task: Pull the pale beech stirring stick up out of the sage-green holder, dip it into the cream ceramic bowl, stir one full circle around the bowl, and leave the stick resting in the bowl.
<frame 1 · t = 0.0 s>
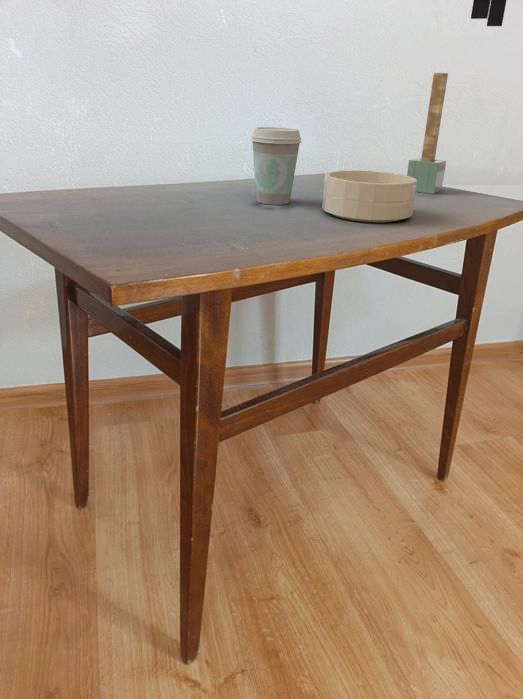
hand: (486, 22, 109), 31 cm above the table, tool pointing down, fingers open, 13 cm apart
bowl: (366, 214, 97), on the table
holder: (423, 190, 122), on the table
stick: (431, 134, 117), in the holder
coffee cup: (273, 202, 104), on the table
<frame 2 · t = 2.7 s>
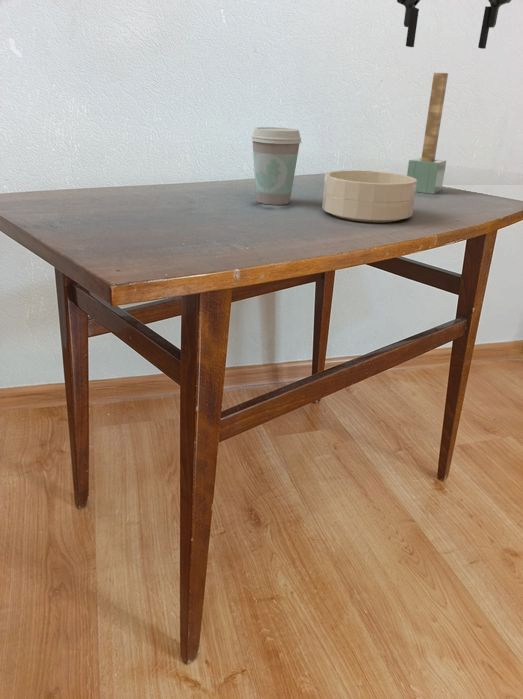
hand: (444, 47, 111), 26 cm above the table, tool pointing down, fingers open, 13 cm apart
nothing on the table moved.
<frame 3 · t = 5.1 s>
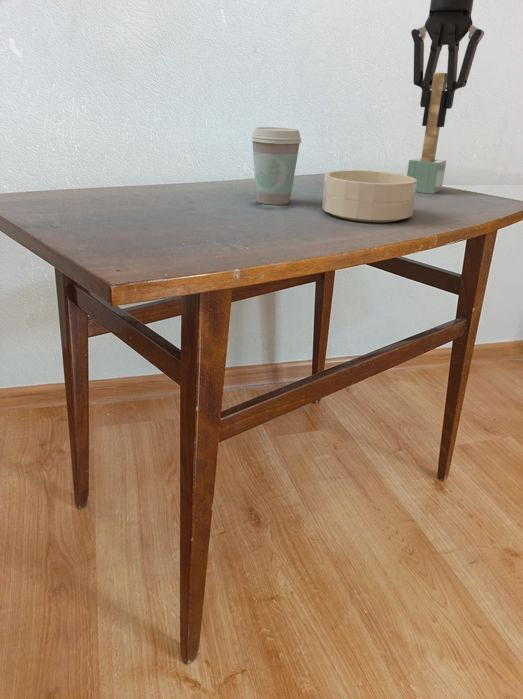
hand: (433, 126, 117), 12 cm above the table, tool pointing down, fingers closed on stick, 2 cm apart
stick: (431, 134, 117), in the holder, touching gripper
everything else where it was.
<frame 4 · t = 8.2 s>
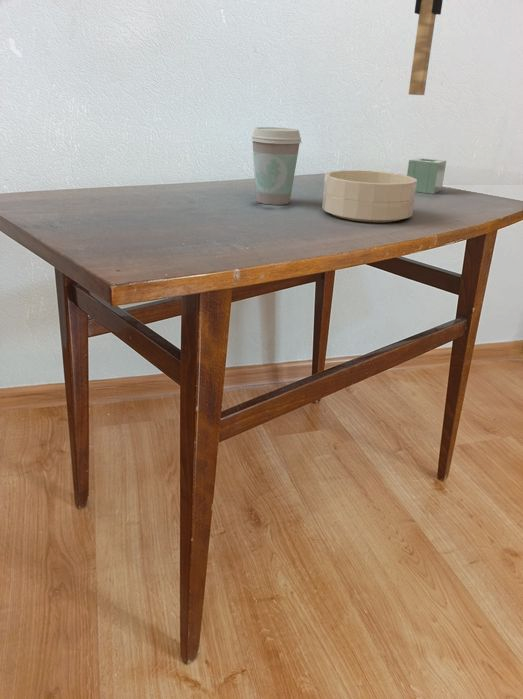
hand: (427, 13, 99), 31 cm above the table, tool pointing down, fingers closed on stick, 2 cm apart
stick: (426, 23, 99), point 29 cm above the table, touching gripper
everything else where it was.
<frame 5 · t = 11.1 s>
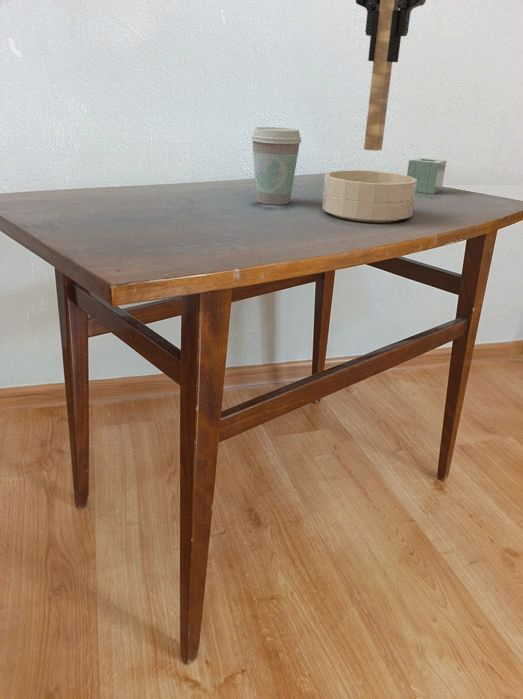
hand: (383, 61, 87), 23 cm above the table, tool pointing down, fingers closed on stick, 2 cm apart
stick: (381, 72, 88), point 21 cm above the table, touching gripper
everything else where it was.
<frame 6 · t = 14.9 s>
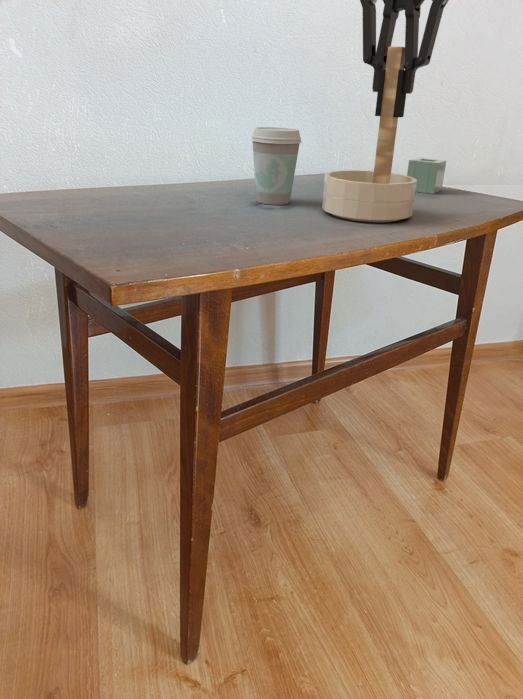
hand: (389, 116, 91), 15 cm above the table, tool pointing down, fingers closed on stick, 2 cm apart
stick: (388, 126, 92), point 14 cm above the table, touching gripper
everything else where it was.
when the fingers open (13 cm above the table, at t = 17.5 s): stick stays where it is, resting on bowl.
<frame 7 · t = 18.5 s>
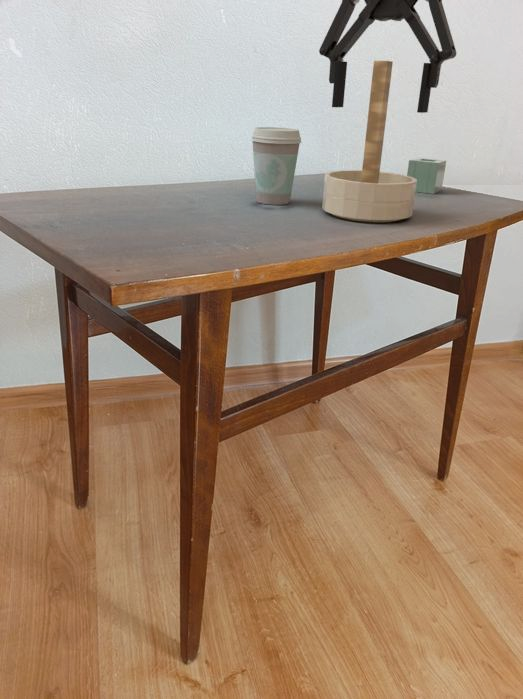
hand: (378, 110, 90), 16 cm above the table, tool pointing down, fingers open, 13 cm apart
stick: (374, 139, 92), in the bowl, point 12 cm above the table
everything else where it was.
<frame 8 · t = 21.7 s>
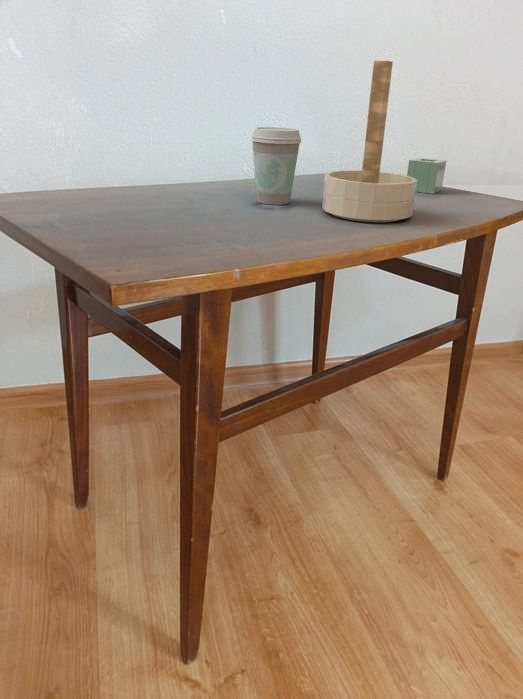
nothing on the table moved.
at the end: stick inside the target area in the bowl (0.1 cm from its centre), point 11.6 cm above the bowl's base; stick touching bowl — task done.
